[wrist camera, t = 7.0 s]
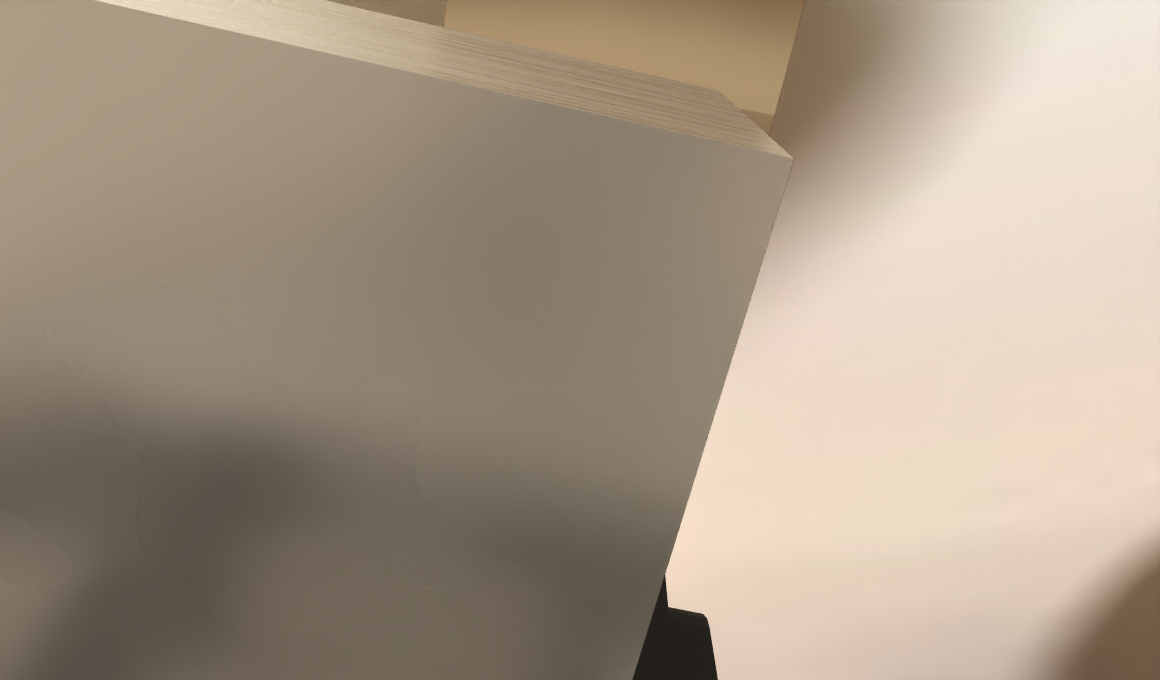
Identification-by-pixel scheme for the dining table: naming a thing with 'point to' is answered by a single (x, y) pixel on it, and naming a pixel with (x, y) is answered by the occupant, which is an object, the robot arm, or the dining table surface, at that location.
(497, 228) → the grey arched block
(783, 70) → the rail
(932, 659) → the dining table surface
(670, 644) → the robot arm
